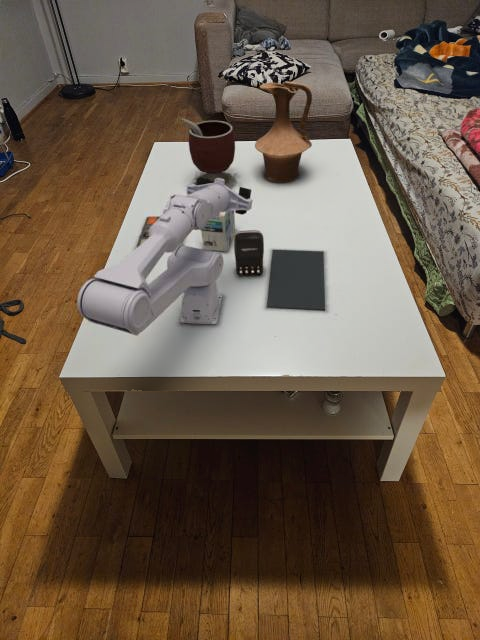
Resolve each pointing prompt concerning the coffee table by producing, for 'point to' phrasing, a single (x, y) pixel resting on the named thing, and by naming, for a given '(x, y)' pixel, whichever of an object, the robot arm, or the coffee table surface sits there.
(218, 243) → the light bulb box
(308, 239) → the coffee table surface
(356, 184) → the coffee table surface
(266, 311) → the coffee table surface
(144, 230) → the calculator
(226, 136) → the mate gourd
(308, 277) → the mat
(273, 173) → the pitcher
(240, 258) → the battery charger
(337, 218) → the coffee table surface
